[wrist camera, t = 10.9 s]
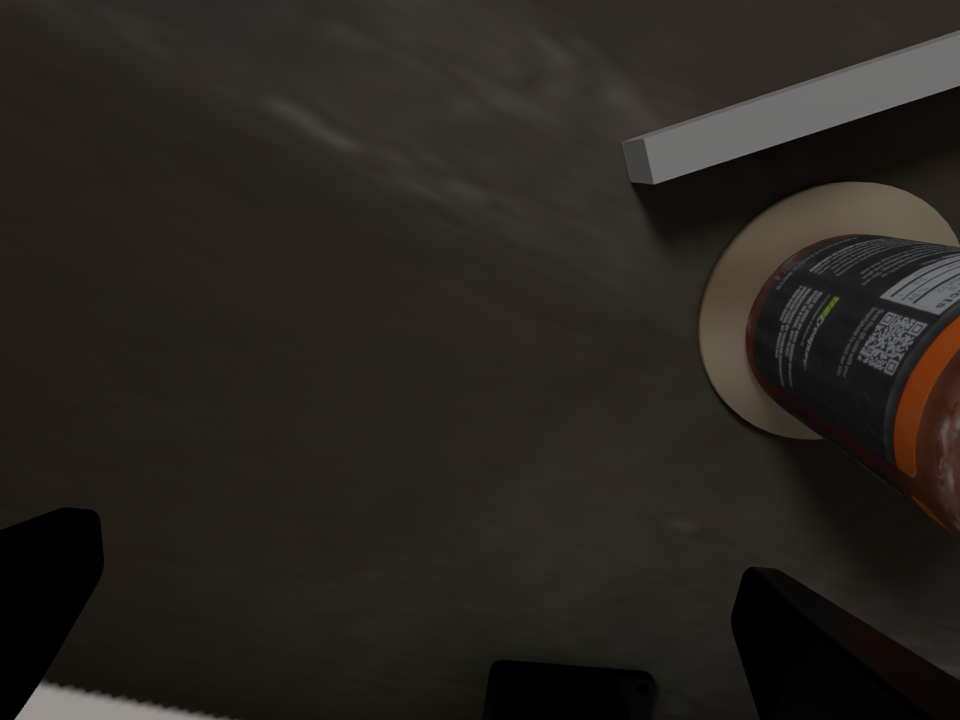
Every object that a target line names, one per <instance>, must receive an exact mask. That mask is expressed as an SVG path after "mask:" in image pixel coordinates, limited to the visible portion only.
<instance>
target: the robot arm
mask: <svg viewBox="0 0 960 720" xmlns="http://www.w3.org/2000/svg"><path fill="white" fill-rule="evenodd" d="M103 566H104V555H103V544H102V533H101V522H100V517H99V515H98V514H97V513H96V512H95V511H94V510H90V509H79V508H67V507H66V508H60V509H57V510H54V511H52V512H49V513H46V514H43V515H41V516H38V517H35V518H32V519H30V520H27V521H24V522H21V523H19V524H16V525H13V526H10V527H7V528H5V529H2V530H0V720H14V719H15V718H16V717H17V715H18V714H19V712H20V711H21V710H22V708H23V707H24V705H25V704H26V702H27V701H28V700H29V698H30V697H31V695H32V694H33V692H34V691H35V689H36V688H37V686H38V685H39V683H40V681H41V680H42V678H43V677H44V675H45V673H46V672H47V670H48V669H49V667H50V665H51V663H52V662H53V660H54V658H55V656H56V655H57V653H58V651H59V649H60V648H61V646H62V644H63V643H64V641H65V639H66V637H67V636H68V634H69V632H70V630H71V629H72V627H73V625H74V624H75V622H76V620H77V618H78V617H79V615H80V613H81V611H82V610H83V608H84V606H85V604H86V603H87V601H88V599H89V598H90V596H91V594H92V592H93V591H94V589H95V587H96V585H97V584H98V582H99V580H100V577H101V575H102V572H103ZM731 626H732V632H733V635H734V639H735V642H736V645H737V648H738V651H739V654H740V657H741V661H742V664H743V667H744V670H745V673H746V676H747V680H748V683H749V686H750V689H751V692H752V695H753V699H754V702H755V705H756V708H757V711H758V714H759V718H760V720H960V681H959V680H958V679H956V678H954V677H953V676H951V675H949V674H948V673H946V672H945V671H943V670H941V669H940V668H938V667H936V666H935V665H933V664H931V663H930V662H928V661H927V660H925V659H923V658H922V657H920V656H918V655H917V654H915V653H914V652H912V651H910V650H909V649H907V648H905V647H904V646H902V645H901V644H899V643H897V642H896V641H894V640H892V639H891V638H889V637H888V636H886V635H884V634H883V633H881V632H879V631H878V630H876V629H874V628H873V627H871V626H870V625H868V624H866V623H865V622H863V621H861V620H860V619H858V618H857V617H855V616H853V615H852V614H850V613H848V612H847V611H845V610H844V609H842V608H840V607H839V606H837V605H835V604H834V603H832V602H831V601H829V600H827V599H826V598H824V597H822V596H821V595H819V594H817V593H816V592H814V591H813V590H811V589H809V588H808V587H806V586H804V585H803V584H801V583H800V582H798V581H796V580H795V579H793V578H791V577H790V576H788V575H787V574H785V573H783V572H782V571H780V570H777V569H773V568H761V567H750V568H748V569H746V571H745V572H744V574H743V576H742V579H741V583H740V586H739V590H738V593H737V597H736V600H735V604H734V607H733V611H732V616H731ZM502 673H504V674H506V675H503V676H501V675H499V674H502ZM642 684H645V685H643V686H639V685H642ZM654 694H655V684H654V681H653V678H652V676H651V675H650V674H649V673H647V672H644V671H634V670H621V669H609V668H596V667H583V666H571V665H558V664H545V663H532V662H520V661H507V660H501V661H497V662H495V663H494V664H493V665H491V668H490V672H489V678H488V685H487V692H486V699H485V706H484V713H483V719H482V720H648V718H649V714H650V710H651V706H652V702H653V698H654Z"/></svg>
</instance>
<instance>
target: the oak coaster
mask: <svg viewBox="0 0 960 720" xmlns="http://www.w3.org/2000/svg"><path fill="white" fill-rule="evenodd" d="M848 234H869V235H881V236H888V237H894V238H900V239H908V240H914V241H921V242H927V243H934V244H942V245H948V246H955V247H960V244H959V242H958V240H957V238H956V235H955V234H954V232H953V231H952V229H951V228H950V226H949V225H948V223H947V222H946V221H945V220H944V219H943V218H942V216H941V215H940V214H939V213H938V212H937V211H936V210H935V209H934V208H932V207H931V206H930V205H928V204H927V203H926V202H925V201H923V200H922V199H920V198H918V197H916V196H914V195H913V194H911V193H909V192H907V191H904V190H901V189H898V188H895V187H893V186H888V185H883V184H878V183H867V182H836V183H827V184H822V185H818V186H813V187H809V188H807V189H804V190H801V191H798V192H795V193H793V194H791V195H789V196H787V197H785V198H783V199H781V200H779V201H777V202H775V203H773V204H772V205H770V206H769V207H767V208H766V209H764V210H763V211H761V212H760V213H758V214H757V215H756V216H755V217H754V218H752V219H751V220H750V221H749V222H748V223H746V224H745V225H744V226H743V227H742V228H741V229H740V230H739V232H738V233H737V234H736V235H735V236H734V237H733V238H732V239H731V240H730V242H729V243H728V244H727V246H726V247H725V248H724V250H723V251H722V252H721V254H720V255H719V257H718V259H717V261H716V262H715V264H714V266H713V267H712V269H711V272H710V274H709V276H708V278H707V281H706V283H705V285H704V289H703V292H702V296H701V299H700V303H699V309H698V316H697V342H698V351H699V354H700V358H701V362H702V366H703V368H704V370H705V373H706V375H707V377H708V379H709V381H710V383H711V384H712V386H713V388H714V389H715V391H716V392H717V393H718V395H719V396H720V397H721V398H722V399H723V400H724V402H725V403H726V404H727V405H728V406H730V407H731V408H732V409H733V410H734V411H735V412H736V413H737V414H739V415H740V416H741V417H742V418H743V419H745V420H747V421H748V422H750V423H751V424H753V425H754V426H756V427H758V428H761V429H763V430H765V431H767V432H770V433H773V434H776V435H780V436H783V437H789V438H795V439H811V440H816V439H823V438H822V437H821V436H820V435H818V434H817V433H815V432H814V431H812V430H811V429H809V428H808V427H807V426H806V425H804V424H803V423H802V422H800V421H799V420H798V419H796V418H795V417H794V416H792V415H791V414H789V413H788V412H787V411H785V410H784V409H783V408H782V407H780V406H779V405H778V404H777V403H776V402H775V401H774V400H773V399H771V398H770V397H769V396H768V395H767V394H766V393H765V392H764V391H763V390H762V388H761V386H760V385H759V383H758V382H757V380H756V378H755V376H754V374H753V372H752V370H751V367H750V364H749V361H748V357H747V351H746V327H747V323H748V318H749V314H750V311H751V308H752V305H753V303H754V300H755V298H756V297H757V295H758V293H759V292H760V289H761V287H762V286H763V285H764V283H765V282H766V281H767V279H768V278H769V277H770V276H771V275H772V274H773V273H774V272H775V271H776V269H777V268H778V267H779V266H780V265H781V264H782V263H783V262H784V261H785V260H787V259H788V258H789V257H791V256H792V255H793V254H795V253H797V252H798V251H800V250H802V249H803V248H805V247H807V246H810V245H812V244H814V243H816V242H818V241H821V240H824V239H828V238H831V237H835V236H841V235H848Z"/></svg>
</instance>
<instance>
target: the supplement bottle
mask: <svg viewBox="0 0 960 720" xmlns="http://www.w3.org/2000/svg"><path fill="white" fill-rule="evenodd" d="M746 351H747V357H748V361H749V364H750V367H751V370H752V372H753V374H754V376H755V378H756V380H757V382H758V383H759V385H760V386H761V388H762V390H763V391H764V392H765V393H766V394H767V395H768V396H769V397H770V398H771V399H773V400H774V401H775V402H776V403H777V404H778V405H779V406H780V407H782V408H783V409H784V410H785V411H787V412H788V413H789V414H791V415H792V416H794V417H795V418H796V419H798V420H799V421H800V422H802V423H803V424H804V425H806V426H807V427H808V428H809V429H811V430H812V431H814V432H815V433H817V434H818V435H820V436H821V437H822V438H823V439H825V440H826V441H827V442H829V443H830V444H832V445H833V446H834V447H836V448H837V449H838V450H839V451H841V452H842V453H843V454H845V455H846V456H848V457H849V458H850V459H852V460H853V461H854V462H856V463H857V464H858V465H859V466H861V467H863V468H864V469H865V470H867V471H868V472H869V473H871V474H872V475H873V476H875V477H876V478H878V479H879V480H880V481H881V482H883V483H884V484H885V485H887V486H888V487H889V488H891V489H892V490H893V491H895V492H896V493H897V494H899V495H900V496H901V497H902V498H904V499H905V500H907V501H908V502H910V503H911V504H912V505H914V506H915V507H916V508H917V509H919V510H920V511H921V512H922V513H924V514H925V515H927V516H928V517H930V518H932V519H933V520H935V521H936V522H937V523H939V524H940V525H941V526H943V527H944V528H945V529H947V530H948V531H949V532H951V533H952V534H953V535H955V536H956V537H958V538H959V539H960V247H955V246H948V245H942V244H934V243H927V242H921V241H914V240H908V239H900V238H894V237H888V236H881V235H869V234H848V235H841V236H835V237H831V238H828V239H824V240H821V241H818V242H816V243H814V244H812V245H810V246H807V247H805V248H803V249H802V250H800V251H798V252H797V253H795V254H793V255H792V256H791V257H789V258H788V259H787V260H785V261H784V262H783V263H782V264H781V265H780V266H779V267H778V268H777V269H776V271H775V272H774V273H773V274H772V275H771V276H770V277H769V278H768V279H767V281H766V282H765V283H764V285H763V286H762V287H761V289H760V292H759V293H758V295H757V297H756V298H755V300H754V303H753V305H752V308H751V311H750V314H749V318H748V323H747V327H746Z"/></svg>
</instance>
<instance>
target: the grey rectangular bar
mask: <svg viewBox="0 0 960 720" xmlns="http://www.w3.org/2000/svg"><path fill="white" fill-rule="evenodd" d="M957 86H960V30H959V31H956V32H953V33H950V34H947V35H944V36H941V37H938V38H935V39H932V40H929V41H926V42H923V43H920V44H916V45H913V46H910V47H907V48H904V49H901V50H898V51H895V52H892V53H889V54H886V55H883V56H880V57H877V58H874V59H871V60H868V61H865V62H862V63H859V64H856V65H853V66H850V67H847V68H844V69H841V70H838V71H835V72H832V73H829V74H826V75H823V76H820V77H817V78H814V79H810V80H807V81H804V82H801V83H798V84H795V85H792V86H789V87H786V88H783V89H780V90H777V91H774V92H771V93H768V94H765V95H762V96H759V97H756V98H753V99H750V100H747V101H744V102H741V103H738V104H735V105H732V106H729V107H726V108H723V109H720V110H717V111H714V112H711V113H707V114H704V115H701V116H698V117H695V118H692V119H689V120H686V121H683V122H680V123H677V124H674V125H671V126H668V127H665V128H662V129H659V130H656V131H653V132H650V133H647V134H644V135H641V136H638V137H635V138H632V139H629V140H626V141H623V142H621V143H622V148H623V152H624V156H625V161H626V165H627V169H628V174H629V178H630V182H635V183H645V184H657V183H660V182H663V181H666V180H669V179H673V178H676V177H679V176H682V175H685V174H688V173H691V172H694V171H697V170H700V169H704V168H707V167H710V166H713V165H716V164H719V163H722V162H725V161H728V160H731V159H734V158H738V157H741V156H744V155H747V154H750V153H753V152H756V151H759V150H762V149H765V148H769V147H772V146H775V145H778V144H781V143H784V142H787V141H790V140H793V139H796V138H799V137H803V136H806V135H809V134H812V133H815V132H818V131H821V130H824V129H827V128H830V127H834V126H837V125H840V124H843V123H846V122H849V121H852V120H855V119H858V118H861V117H864V116H868V115H871V114H874V113H877V112H880V111H883V110H886V109H889V108H892V107H895V106H899V105H902V104H905V103H908V102H911V101H914V100H917V99H920V98H923V97H926V96H929V95H933V94H936V93H939V92H942V91H945V90H948V89H951V88H954V87H957Z"/></svg>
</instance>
